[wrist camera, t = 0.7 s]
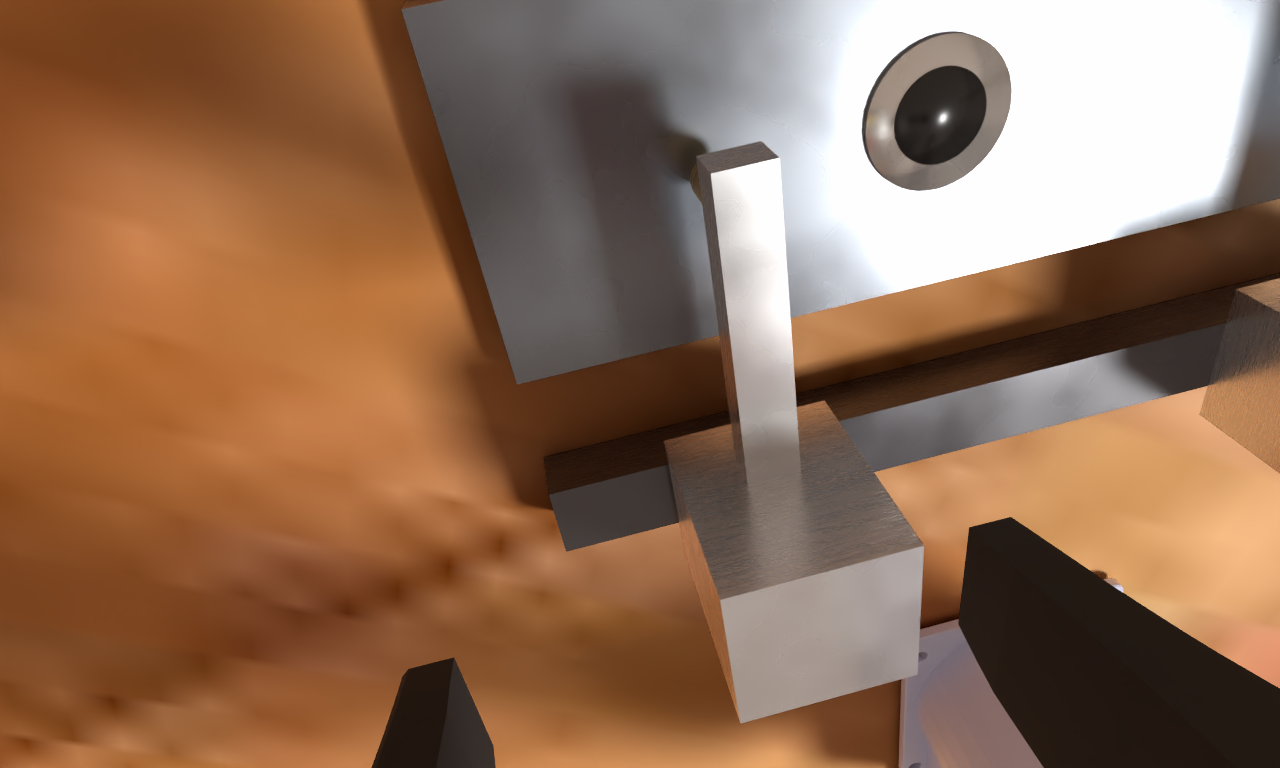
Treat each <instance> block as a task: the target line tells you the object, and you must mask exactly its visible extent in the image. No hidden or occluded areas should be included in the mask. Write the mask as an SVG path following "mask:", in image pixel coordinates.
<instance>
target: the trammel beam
mask: <svg viewBox="0 0 1280 768" xmlns="http://www.w3.org/2000/svg"><path fill="white" fill-rule="evenodd" d="M1278 278H1280V273H1279V274H1275V275H1271V276H1267V277H1263V278H1259V279H1255V280H1251V281H1247V282H1243V283H1239V284H1235V285H1231V286H1227V287H1223V288H1219V289H1215V290H1211V291H1207V292H1203V293H1199V294H1195V295H1191V296H1187V297H1183V298H1179V299H1175V300H1171V301H1167V302H1163V303H1159V304H1155V305H1151V306H1147V307H1143V308H1139V309H1135V310H1131V311H1127V312H1123V313H1119V314H1115V315H1111V316H1107V317H1103V318H1099V319H1095V320H1091V321H1087V322H1083V323H1079V324H1075V325H1071V326H1067V327H1063V328H1059V329H1055V330H1051V331H1047V332H1043V333H1039V334H1035V335H1031V336H1027V337H1023V338H1019V339H1015V340H1011V341H1007V342H1003V343H999V344H995V345H991V346H987V347H983V348H979V349H975V350H971V351H967V352H963V353H959V354H955V355H951V356H947V357H943V358H939V359H935V360H931V361H927V362H923V363H919V364H915V365H911V366H907V367H903V368H899V369H895V370H891V371H887V372H883V373H880V374H876V375H872V376H868V377H864V378H860V379H856V380H852V381H848V382H844V383H840V384H836V385H832V386H828V387H824V388H820V389H816V390H812V391H808V392H804V393H800V394H796V406H797V407H800V406H804V405H808V404H812V403H816V402H820V401H824V400H825V402H826V403H827V405H828V406H829V408H830V409H831V411H832V412H833V414H834V415H835V416H836V418H837V419H838V421H839V422H840V424H841V425H842V427H843V428H844V430H845V431H846V433H847V434H848V435H849V437H850V438H851V440H852V441H853V443H854V444H855V446H856V447H857V449H858V450H859V451H860V453H861V454H862V456H863V457H864V459H865V460H866V462H867V463H868V465H869V466H870V468H871V469H872V470H873V472H876V471H880V470H884V469H887V468H891V467H895V466H899V465H903V464H907V463H911V462H915V461H918V460H922V459H926V458H930V457H934V456H938V455H942V454H945V453H949V452H953V451H957V450H961V449H965V448H969V447H973V446H976V445H980V444H984V443H988V442H992V441H996V440H1000V439H1003V438H1007V437H1011V436H1015V435H1019V434H1023V433H1027V432H1031V431H1034V430H1038V429H1042V428H1046V427H1050V426H1054V425H1058V424H1061V423H1065V422H1069V421H1073V420H1077V419H1081V418H1085V417H1089V416H1092V415H1096V414H1100V413H1104V412H1108V411H1112V410H1116V409H1119V408H1123V407H1127V406H1131V405H1135V404H1139V403H1143V402H1147V401H1150V400H1154V399H1158V398H1162V397H1166V396H1170V395H1174V394H1178V393H1181V392H1185V391H1189V390H1193V389H1197V388H1201V387H1205V386H1208V384H1209V381H1210V377H1211V374H1212V370H1213V367H1214V363H1215V360H1216V356H1217V353H1218V350H1219V346H1220V343H1221V339H1222V336H1223V332H1224V329H1225V325H1226V322H1227V319H1228V315H1229V312H1230V308H1231V305H1232V301H1233V298H1234V294H1235V291H1236V289H1239V288H1243V287H1247V286H1251V285H1255V284H1259V283H1263V282H1267V281H1271V280H1275V279H1278ZM729 424H730V417H729V411H728V412H724V413H720V414H716V415H712V416H708V417H704V418H700V419H696V420H692V421H688V422H684V423H680V424H676V425H672V426H668V427H664V428H660V429H656V430H652V431H648V432H644V433H640V434H636V435H632V436H628V437H624V438H620V439H616V440H612V441H608V442H604V443H600V444H596V445H592V446H588V447H584V448H580V449H576V450H572V451H568V452H564V453H560V454H556V455H552V456H548V457H544V464H545V471H546V478H547V486H548V493H549V497H550V500H551V504H552V507H553V510H554V513H555V516H556V520H557V523H558V526H559V529H560V533H561V536H562V539H563V542H564V545H565V549H566V551H570V550H574V549H578V548H582V547H586V546H590V545H594V544H597V543H601V542H605V541H609V540H613V539H617V538H621V537H624V536H628V535H632V534H636V533H640V532H644V531H648V530H652V529H655V528H659V527H663V526H667V525H671V524H675V523H679V519H678V513H677V508H676V503H675V498H674V492H673V487H672V482H671V477H670V471H669V466H668V461H667V456H666V450H665V445H664V441H665V440H669V439H673V438H677V437H681V436H685V435H689V434H693V433H697V432H701V431H705V430H709V429H713V428H717V427H721V426H725V425H729Z"/></svg>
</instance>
